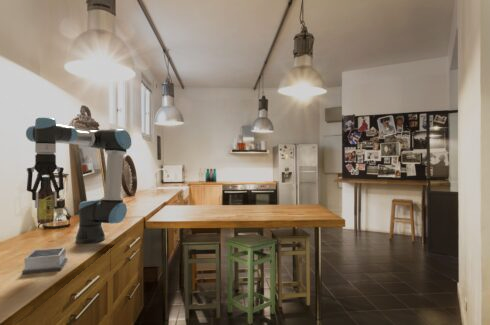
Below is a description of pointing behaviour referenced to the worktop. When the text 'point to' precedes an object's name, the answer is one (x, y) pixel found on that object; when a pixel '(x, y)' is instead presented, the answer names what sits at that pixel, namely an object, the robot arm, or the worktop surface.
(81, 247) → the worktop surface
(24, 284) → the worktop surface
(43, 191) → the sauce bottle
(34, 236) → the worktop surface
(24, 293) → the worktop surface
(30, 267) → the open gray square box
